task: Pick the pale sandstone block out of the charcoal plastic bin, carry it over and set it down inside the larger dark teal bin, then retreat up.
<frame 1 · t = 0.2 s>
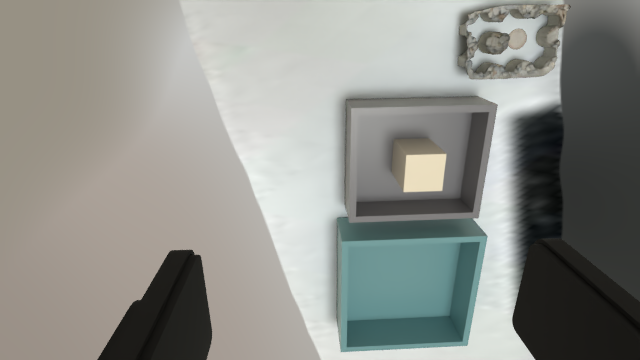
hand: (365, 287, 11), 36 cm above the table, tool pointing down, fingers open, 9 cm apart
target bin: (398, 269, 55), on the table
egg carton: (500, 42, 43), on the table
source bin: (407, 153, 48), on the table
stone block: (409, 155, 47), point 1 cm above the table, touching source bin
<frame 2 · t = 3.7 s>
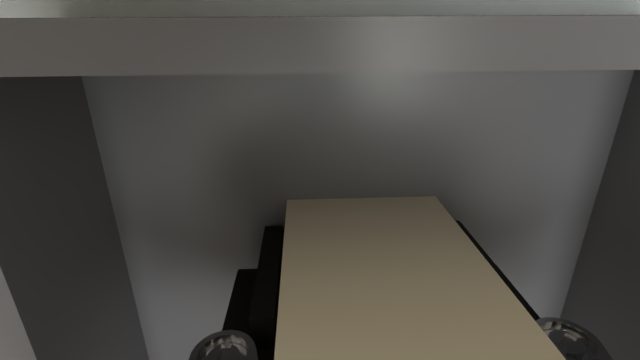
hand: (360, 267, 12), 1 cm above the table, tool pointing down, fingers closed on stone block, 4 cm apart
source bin: (354, 243, 13), on the table
stone block: (359, 260, 12), point 1 cm above the table, touching gripper, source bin
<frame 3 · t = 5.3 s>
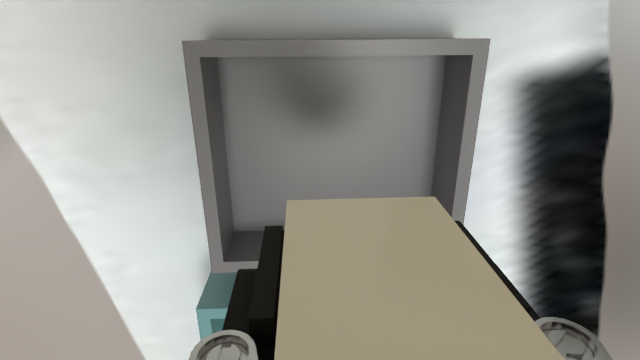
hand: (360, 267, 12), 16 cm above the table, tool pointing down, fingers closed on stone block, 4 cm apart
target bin: (330, 342, 33), on the table
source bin: (331, 144, 26), on the table
stone block: (359, 261, 12), point 15 cm above the table, touching gripper
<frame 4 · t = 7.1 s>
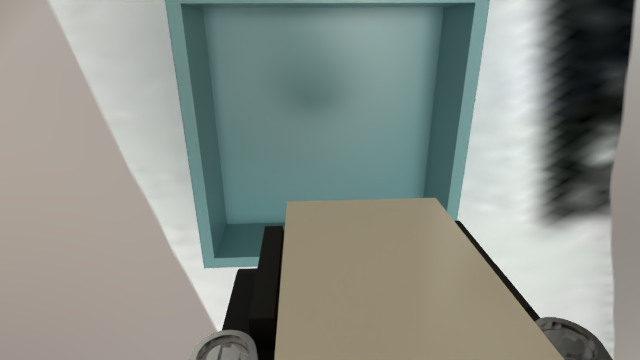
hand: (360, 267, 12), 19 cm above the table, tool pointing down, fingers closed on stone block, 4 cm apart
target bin: (324, 123, 29), on the table
stone block: (359, 262, 12), point 19 cm above the table, touching gripper
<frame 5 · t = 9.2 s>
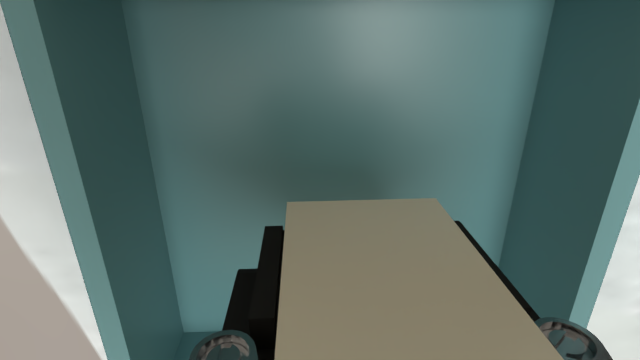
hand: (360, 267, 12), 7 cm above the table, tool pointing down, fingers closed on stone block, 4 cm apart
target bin: (338, 178, 18), on the table
stone block: (359, 263, 12), point 7 cm above the table, touching gripper
when the fingers open (3 cm above the table, at t = 10.8 s): stone block drops 2 cm, resting on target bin.
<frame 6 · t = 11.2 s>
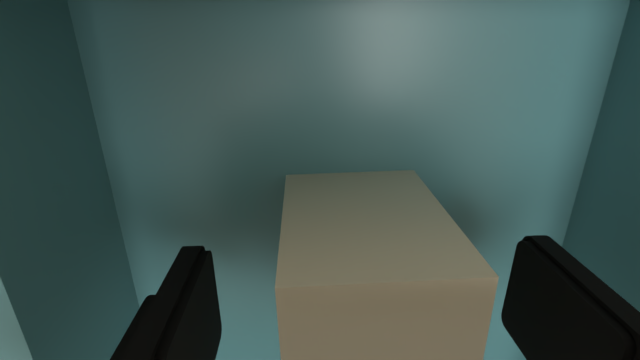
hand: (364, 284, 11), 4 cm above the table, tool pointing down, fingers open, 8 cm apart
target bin: (348, 216, 15), on the table
stone block: (349, 228, 14), point 1 cm above the table, touching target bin
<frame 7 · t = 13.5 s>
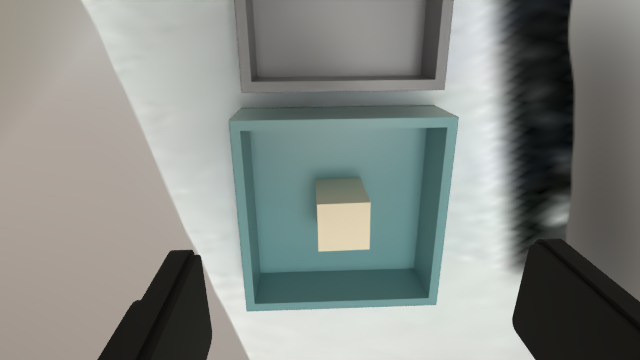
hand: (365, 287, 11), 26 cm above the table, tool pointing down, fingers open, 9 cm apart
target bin: (337, 195, 38), on the table
stone block: (337, 199, 37), point 1 cm above the table, touching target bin
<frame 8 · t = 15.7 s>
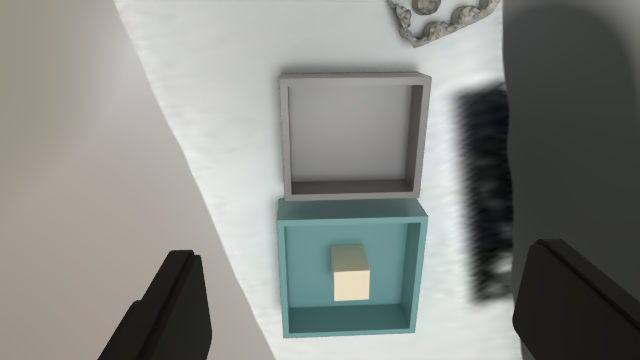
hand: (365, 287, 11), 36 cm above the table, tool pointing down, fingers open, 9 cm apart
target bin: (345, 254, 53), on the table
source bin: (348, 131, 46), on the table
stone block: (346, 258, 52), point 1 cm above the table, touching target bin
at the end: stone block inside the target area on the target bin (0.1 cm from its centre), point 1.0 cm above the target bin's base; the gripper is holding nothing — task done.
